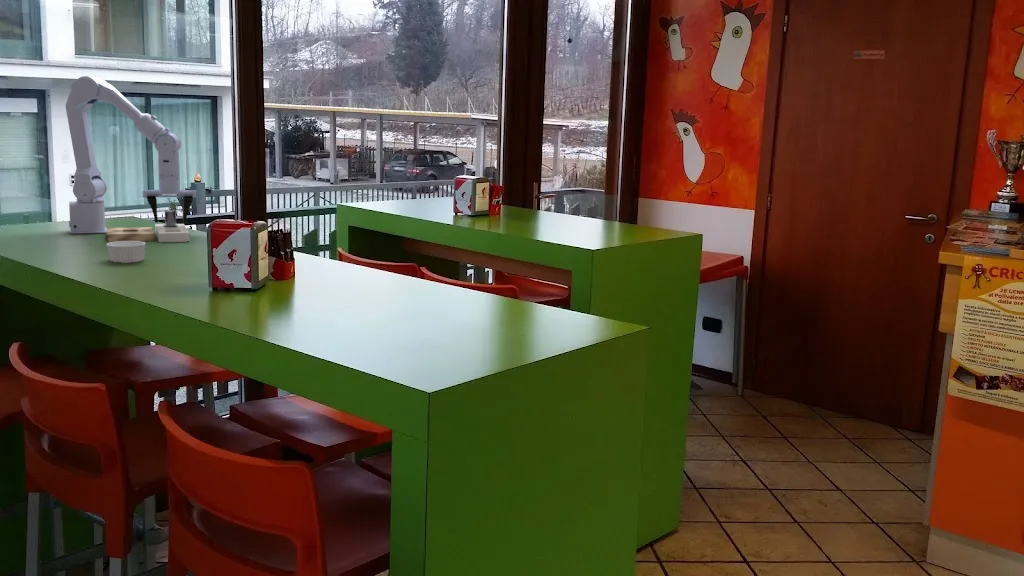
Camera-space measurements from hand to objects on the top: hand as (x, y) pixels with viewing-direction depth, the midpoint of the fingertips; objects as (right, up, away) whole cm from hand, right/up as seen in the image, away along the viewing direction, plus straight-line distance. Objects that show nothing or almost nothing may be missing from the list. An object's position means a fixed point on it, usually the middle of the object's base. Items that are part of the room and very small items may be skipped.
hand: (170, 222), depth 264 cm
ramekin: (+4, -13, -40) cm, 42 cm away
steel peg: (0, -4, +1) cm, 4 cm away
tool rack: (+2, -5, -3) cm, 6 cm away
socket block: (-8, -5, -8) cm, 12 cm away
